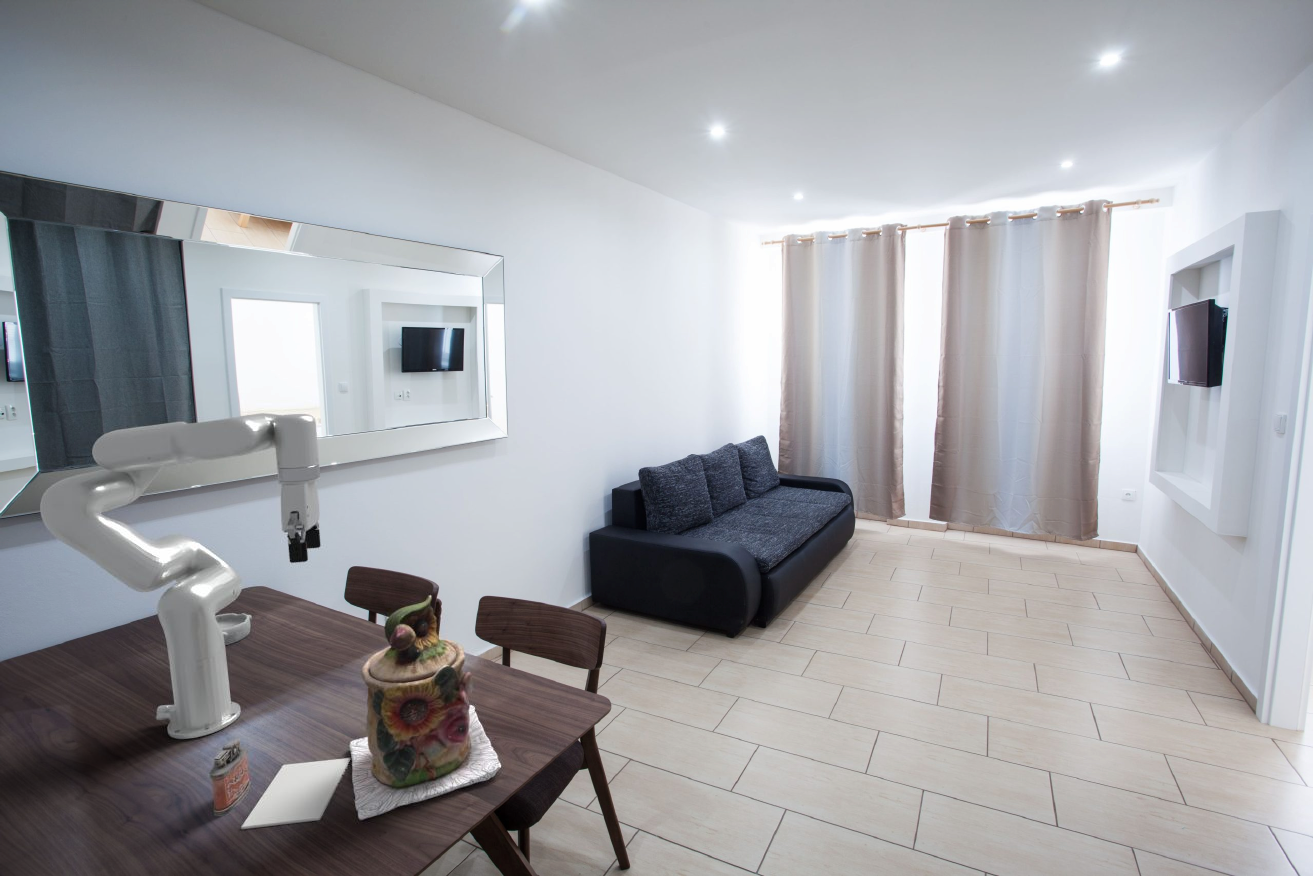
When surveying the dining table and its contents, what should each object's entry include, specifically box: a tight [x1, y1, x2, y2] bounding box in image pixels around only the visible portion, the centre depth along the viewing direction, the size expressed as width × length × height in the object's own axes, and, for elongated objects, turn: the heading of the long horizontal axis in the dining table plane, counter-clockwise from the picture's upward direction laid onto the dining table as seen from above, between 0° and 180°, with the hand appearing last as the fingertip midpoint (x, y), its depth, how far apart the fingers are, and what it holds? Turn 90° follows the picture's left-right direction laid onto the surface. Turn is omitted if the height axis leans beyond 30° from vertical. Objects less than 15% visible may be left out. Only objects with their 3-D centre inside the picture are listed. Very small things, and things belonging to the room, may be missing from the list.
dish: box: [215, 612, 253, 646], centre depth 174 cm, size 14×14×5 cm
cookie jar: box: [349, 595, 502, 821], centre depth 117 cm, size 25×25×32 cm
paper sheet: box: [240, 757, 352, 830], centre depth 111 cm, size 12×16×1 cm
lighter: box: [209, 738, 252, 817], centre depth 109 cm, size 8×3×10 cm, turn 5°
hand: (305, 554), depth 131 cm, fingers open, 9 cm apart
